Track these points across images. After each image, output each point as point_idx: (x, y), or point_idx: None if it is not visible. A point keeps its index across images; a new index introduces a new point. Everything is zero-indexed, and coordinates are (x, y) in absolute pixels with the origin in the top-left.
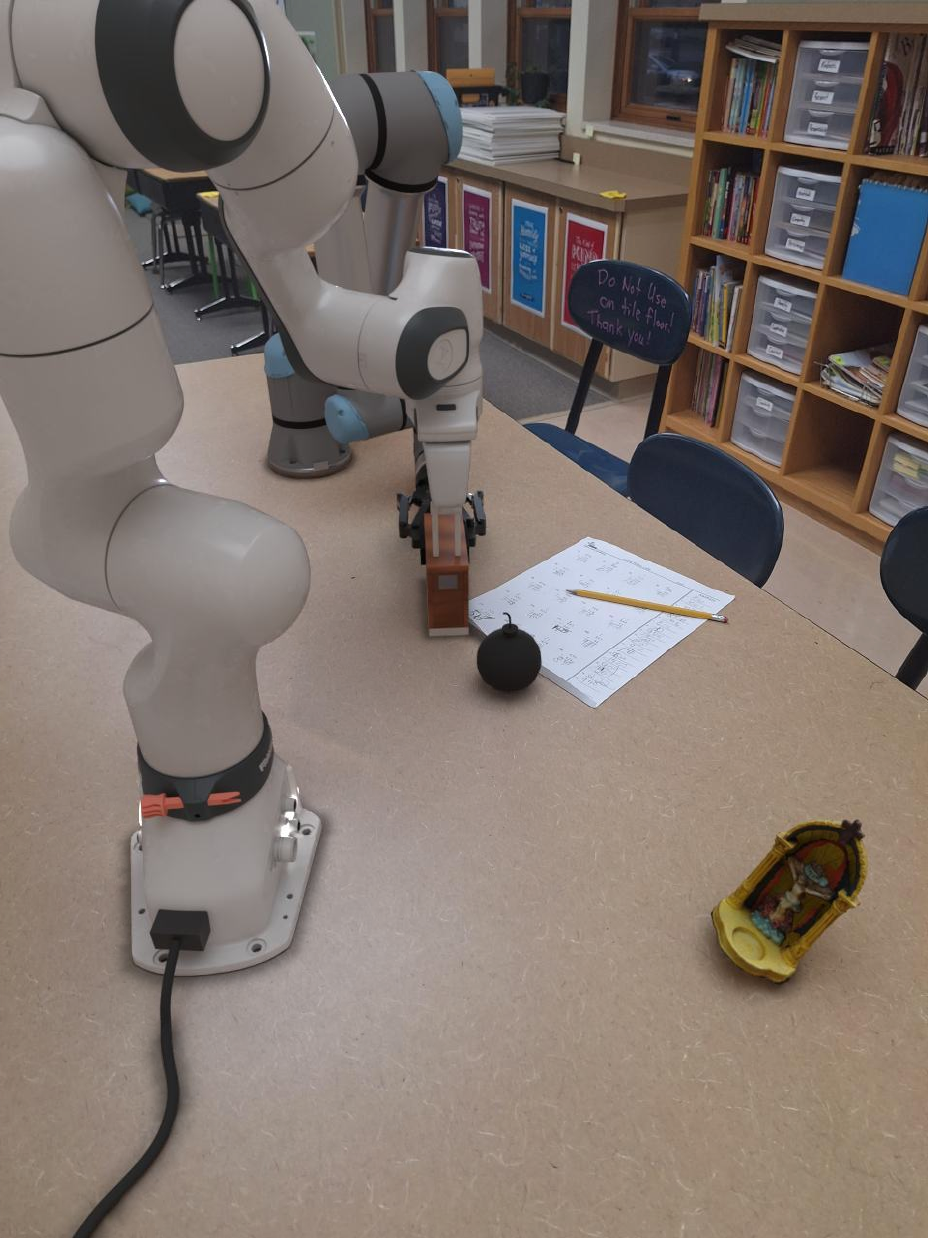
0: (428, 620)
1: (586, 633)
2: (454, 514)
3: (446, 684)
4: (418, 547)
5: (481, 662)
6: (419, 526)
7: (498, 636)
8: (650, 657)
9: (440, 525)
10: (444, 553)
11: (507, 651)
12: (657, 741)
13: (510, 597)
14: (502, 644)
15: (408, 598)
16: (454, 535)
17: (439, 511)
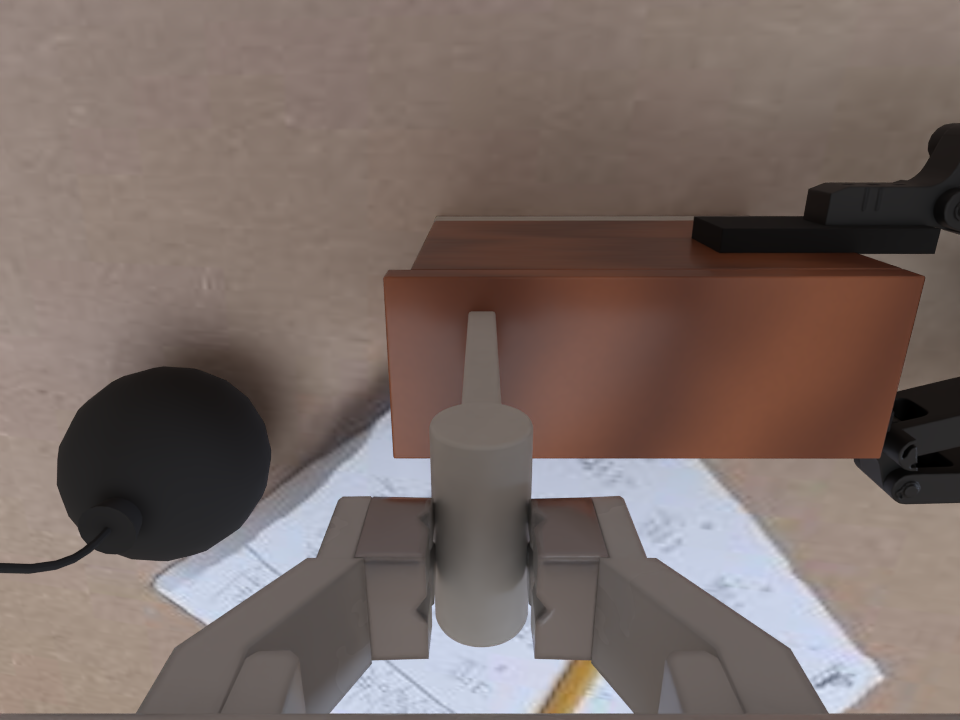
0: (448, 224)
1: (433, 611)
2: (866, 424)
3: (206, 260)
4: (806, 213)
5: (102, 394)
6: (927, 229)
7: (112, 479)
8: (339, 710)
9: (772, 355)
10: (499, 362)
11: (66, 491)
12: (64, 672)
13: (616, 461)
14: (78, 485)
15: (660, 150)
16: (660, 414)
17: (338, 501)
